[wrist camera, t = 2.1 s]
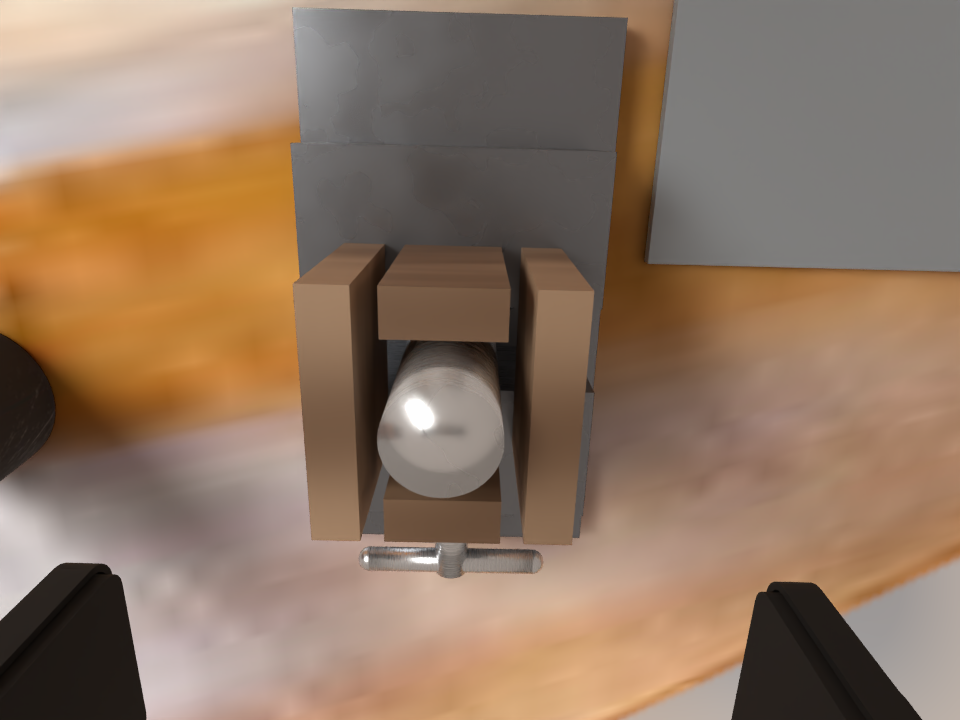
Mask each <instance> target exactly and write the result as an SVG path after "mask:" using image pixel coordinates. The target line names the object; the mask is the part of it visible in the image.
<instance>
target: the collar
mask: <svg viewBox="0 0 960 720" xmlns="http://www.w3.org/2000/svg"><path fill="white" fill-rule="evenodd" d="M293 294H294V308H295V321H296V335H297V348H298V362H299V375H300V389H301V402H302V416H303V429H304V443H305V456H306V470H307V483H308V497H309V510H310V524H311V537H312V540H335V541H360V540H361V537H362V533H363V530H364V526H365V523H366V519H367V516H368V512H369V509H370V505H371V502H372V498H373V495H374V492H375V488H376V485H377V481H378V478H379V474H380V471H381V467H382V464H383V463H382V461H381V458H380V455H379V451H378V445H377V433H378V428H379V424H380V422H381V419H382V416H383V413H384V410H385V407H386V404H387V401H388V359H387V340H426V341H469V342H508V340H509V317H510V294H511V288H510V284H509V279H508V275H507V271H506V266H505V262H504V257H503V253H502V248H501V247H481V246H442V245H404V247H403V248H402V250H401V251H400V253H399V254H398V256H397V257H396V259H395V260H394V262H393V263H392V265H391V266H390V268H389V269H388V271H387V272H386V273H385V244H364V243H344V244H342V245H341V246H340V247H339V248H337V249H336V250H335V251H333V252H332V253H331V254H330V255H328V256H327V257H326V258H325V259H323V260H322V261H321V262H320V263H318V264H317V265H316V266H315V267H313V268H312V269H311V270H310V271H308V272H307V273H306V274H304V275H303V276H302V277H301V278H299V279H298V280H297V281H296V282H294V283H293ZM593 301H594V290H593V289H592V288H591V286H590V285H589V284H588V282H587V281H586V280H585V278H584V277H583V276H582V275H581V273H580V272H579V271H578V269H577V268H576V267H575V265H574V264H573V263H572V262H571V260H570V259H569V258H568V256H567V255H566V254H565V252H564V251H563V250H562V249H559V248H521V264H520V285H519V306H518V326H517V347H516V368H515V389H514V409H513V430H512V448H513V456H514V465H515V474H516V482H517V491H518V499H519V508H520V517H521V525H522V534H523V543H524V544H542V545H572V537H573V526H574V514H575V503H576V492H577V481H578V469H579V458H580V447H581V436H582V424H583V413H584V402H585V391H586V379H587V368H588V357H589V346H590V335H591V323H592V312H593ZM383 509H384V541H386V542H438V543H490V544H500V523H501V488H500V473H499V466H498V468H497V469H496V471H495V472H494V474H493V475H492V476H491V477H490V478H489V479H488V480H487V481H486V482H485V483H484V484H483V485H481V486H480V487H479V488H477V489H475V490H473V491H471V492H469V493H467V494H464V495H460V496H457V497H450V498H433V497H428V496H423V495H420V494H417V493H415V492H412V491H410V490H408V489H407V488H405V487H403V486H402V485H401V484H399V483H398V482H397V481H396V480H395V479H394V478H393V477H392V476H391V475H389V479H388V483H387V487H386V491H385V495H384V498H383Z"/></svg>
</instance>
